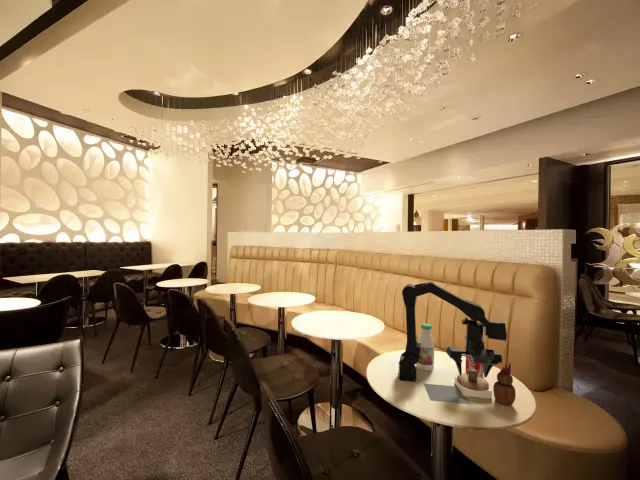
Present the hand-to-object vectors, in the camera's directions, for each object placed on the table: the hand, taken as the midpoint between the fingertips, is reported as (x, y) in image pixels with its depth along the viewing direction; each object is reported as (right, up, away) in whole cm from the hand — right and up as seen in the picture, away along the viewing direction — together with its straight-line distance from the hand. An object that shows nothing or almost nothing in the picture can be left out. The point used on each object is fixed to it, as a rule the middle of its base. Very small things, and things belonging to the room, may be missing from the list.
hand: (472, 376), depth 113 cm
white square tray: (0, -6, 0) cm, 6 cm away
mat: (-12, -6, -2) cm, 13 cm away
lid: (0, -3, 0) cm, 3 cm away
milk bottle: (-12, -6, +20) cm, 24 cm away
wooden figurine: (+8, -7, -7) cm, 13 cm away
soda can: (+8, -6, +13) cm, 17 cm away
